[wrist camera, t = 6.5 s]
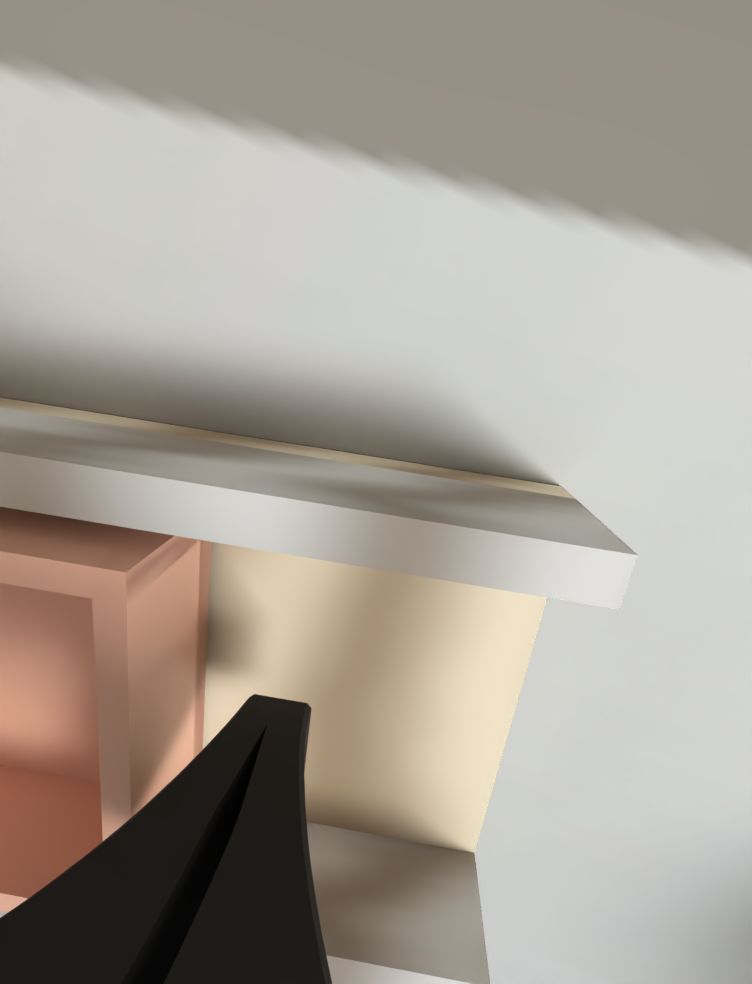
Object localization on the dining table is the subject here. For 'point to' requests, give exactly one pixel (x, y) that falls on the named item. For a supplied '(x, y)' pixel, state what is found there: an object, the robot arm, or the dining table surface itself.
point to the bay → (350, 641)
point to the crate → (92, 683)
